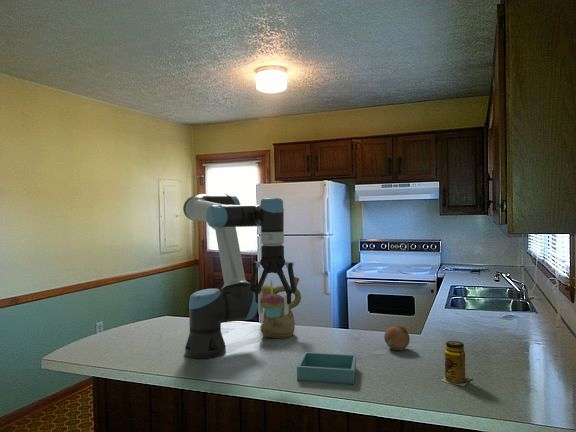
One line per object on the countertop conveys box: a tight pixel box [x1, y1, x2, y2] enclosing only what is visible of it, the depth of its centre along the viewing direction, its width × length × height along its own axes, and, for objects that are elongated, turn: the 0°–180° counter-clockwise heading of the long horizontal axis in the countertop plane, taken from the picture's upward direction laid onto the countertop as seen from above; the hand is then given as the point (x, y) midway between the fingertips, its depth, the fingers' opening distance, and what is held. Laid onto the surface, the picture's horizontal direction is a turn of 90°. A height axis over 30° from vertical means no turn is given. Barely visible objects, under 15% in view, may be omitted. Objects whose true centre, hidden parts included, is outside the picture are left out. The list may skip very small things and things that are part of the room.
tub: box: [296, 351, 357, 386], centre depth 148 cm, size 18×15×4 cm
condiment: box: [439, 340, 473, 387], centre depth 142 cm, size 7×8×12 cm
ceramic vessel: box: [260, 276, 302, 339], centre depth 194 cm, size 17×20×25 cm
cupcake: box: [261, 280, 284, 317], centre depth 149 cm, size 9×8×12 cm
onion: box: [383, 325, 411, 352], centre depth 173 cm, size 10×9×10 cm
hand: (273, 313), depth 150 cm, fingers closed on cupcake, 8 cm apart
